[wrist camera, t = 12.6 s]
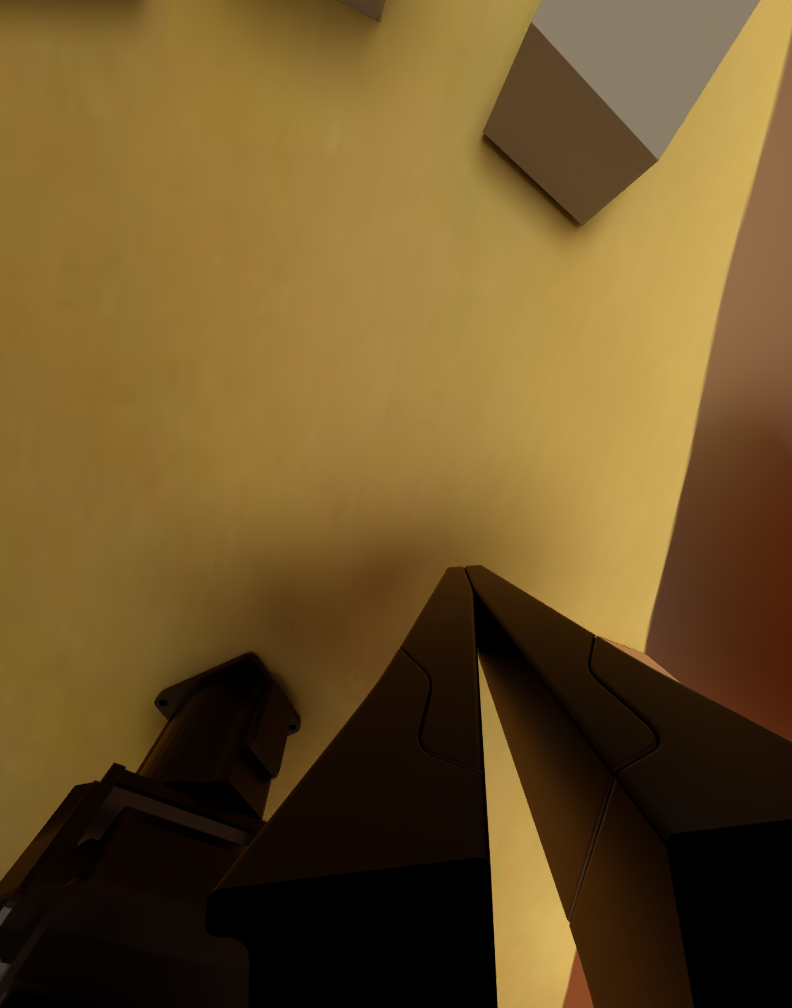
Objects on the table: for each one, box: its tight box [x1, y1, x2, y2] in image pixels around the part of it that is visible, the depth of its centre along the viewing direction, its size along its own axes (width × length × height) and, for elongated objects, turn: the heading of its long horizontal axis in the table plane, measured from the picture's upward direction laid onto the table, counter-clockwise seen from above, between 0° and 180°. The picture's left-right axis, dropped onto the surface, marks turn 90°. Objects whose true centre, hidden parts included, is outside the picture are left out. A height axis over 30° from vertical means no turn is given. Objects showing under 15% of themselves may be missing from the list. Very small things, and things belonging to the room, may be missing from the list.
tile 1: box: [483, 0, 760, 225], centre depth 12 cm, size 4×6×10 cm
